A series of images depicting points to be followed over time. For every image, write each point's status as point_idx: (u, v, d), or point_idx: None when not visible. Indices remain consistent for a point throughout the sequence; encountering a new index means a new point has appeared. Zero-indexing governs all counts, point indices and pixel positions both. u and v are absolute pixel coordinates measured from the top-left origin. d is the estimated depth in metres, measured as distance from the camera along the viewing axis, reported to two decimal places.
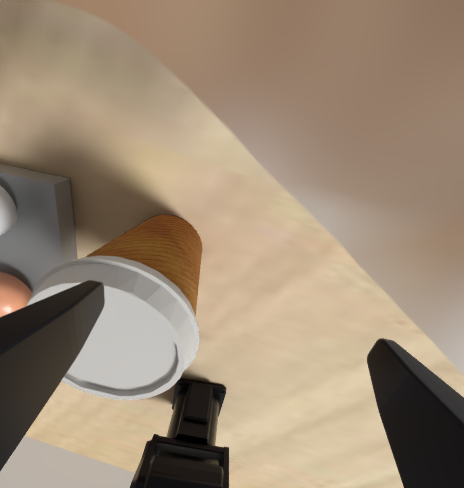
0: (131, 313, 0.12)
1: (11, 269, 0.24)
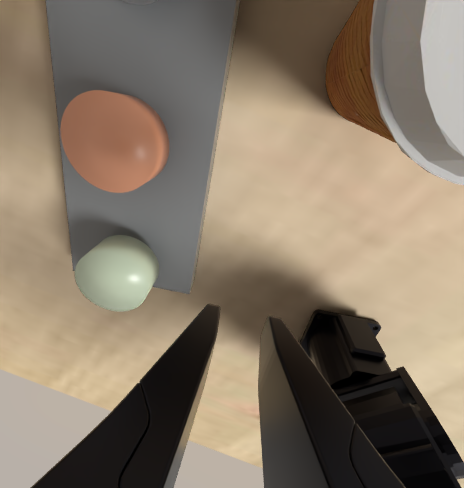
0: None
1: None
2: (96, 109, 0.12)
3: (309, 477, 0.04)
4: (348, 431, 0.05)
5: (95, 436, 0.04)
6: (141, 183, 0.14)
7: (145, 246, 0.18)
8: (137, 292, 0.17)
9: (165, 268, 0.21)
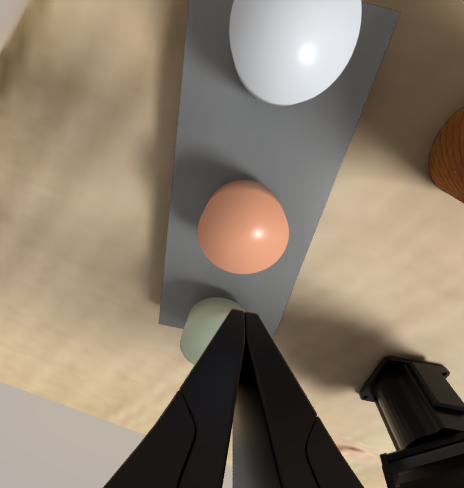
0: None
1: None
2: (238, 206, 0.13)
3: (265, 469, 0.04)
4: (308, 423, 0.04)
5: (147, 445, 0.04)
6: (266, 266, 0.15)
7: (241, 308, 0.19)
8: None
9: None
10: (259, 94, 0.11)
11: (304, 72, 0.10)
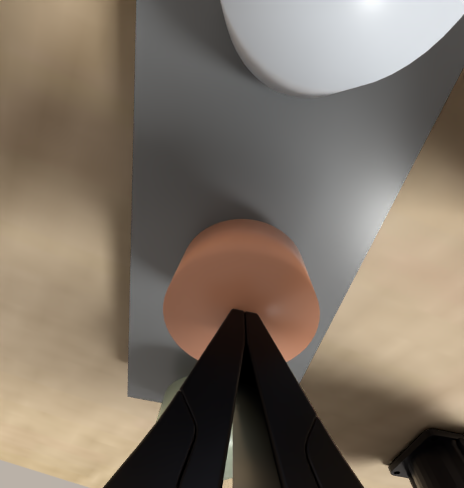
0: None
1: (250, 219, 0.10)
2: (232, 275, 0.07)
3: (265, 469, 0.04)
4: (307, 424, 0.04)
5: (147, 445, 0.04)
6: None
7: None
8: None
9: None
10: (274, 69, 0.05)
11: (375, 18, 0.05)
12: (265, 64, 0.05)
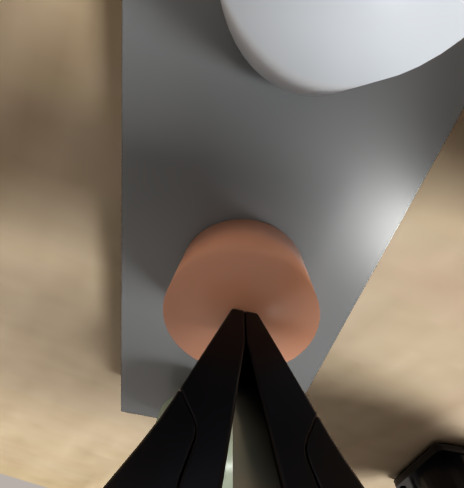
0: None
1: None
2: (232, 276, 0.07)
3: (265, 469, 0.04)
4: (308, 424, 0.04)
5: (147, 445, 0.04)
6: None
7: None
8: None
9: None
10: (279, 59, 0.04)
11: None
12: (268, 54, 0.04)
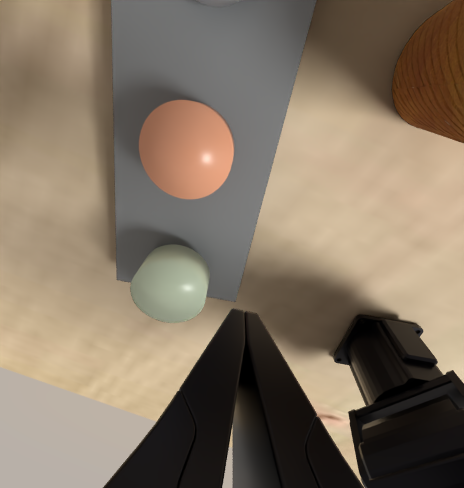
0: None
1: None
2: (178, 118, 0.13)
3: (265, 469, 0.04)
4: (308, 424, 0.04)
5: (147, 445, 0.04)
6: (214, 190, 0.14)
7: (198, 255, 0.18)
8: (194, 303, 0.17)
9: (213, 276, 0.20)
10: None
11: None
12: None
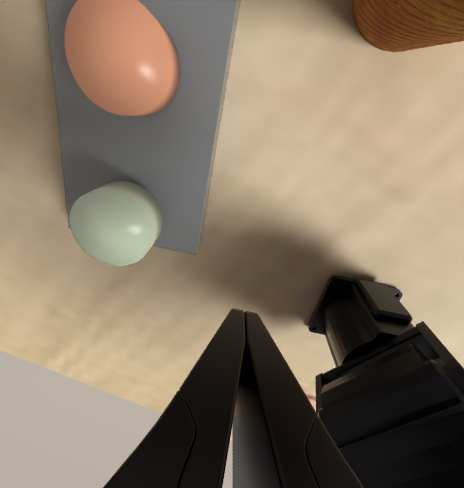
0: None
1: None
2: (103, 12, 0.11)
3: (265, 469, 0.04)
4: (308, 424, 0.04)
5: (147, 445, 0.04)
6: (151, 103, 0.13)
7: (148, 194, 0.17)
8: (139, 242, 0.16)
9: (169, 224, 0.19)
10: None
11: None
12: None
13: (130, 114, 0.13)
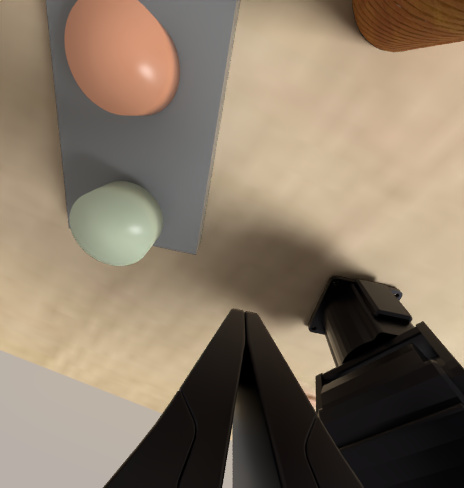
0: None
1: None
2: (103, 12, 0.11)
3: (265, 469, 0.04)
4: (308, 424, 0.04)
5: (147, 445, 0.04)
6: (151, 103, 0.13)
7: (148, 194, 0.17)
8: (139, 242, 0.16)
9: (169, 224, 0.19)
10: None
11: None
12: None
13: (130, 114, 0.13)
